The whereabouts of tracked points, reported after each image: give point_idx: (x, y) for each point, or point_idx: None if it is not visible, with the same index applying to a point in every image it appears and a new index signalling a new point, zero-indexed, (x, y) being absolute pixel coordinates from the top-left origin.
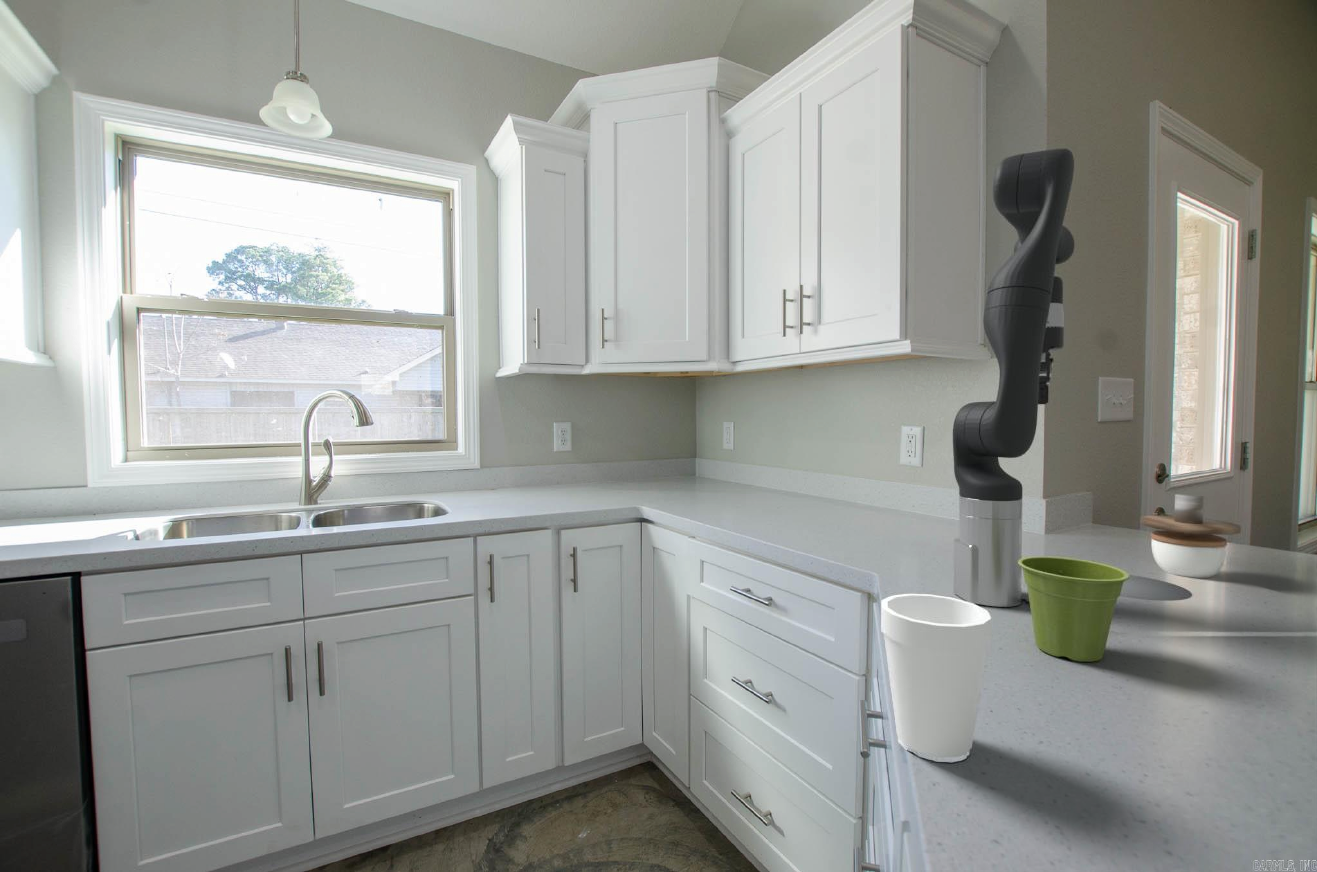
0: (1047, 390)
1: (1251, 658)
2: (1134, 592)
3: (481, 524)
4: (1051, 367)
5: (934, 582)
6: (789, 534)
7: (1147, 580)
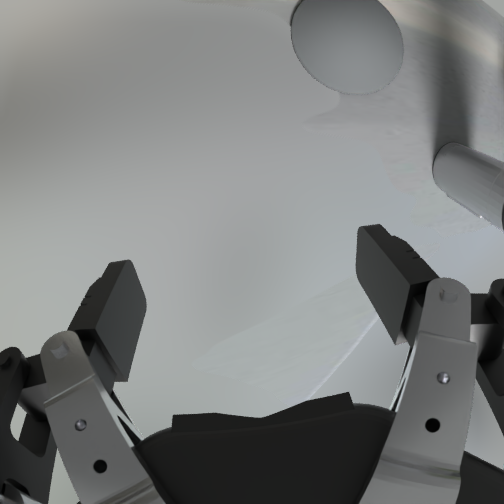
0: (414, 264)
1: (483, 20)
2: (380, 38)
3: None
4: (468, 408)
5: (421, 218)
6: (277, 384)
7: (311, 14)
